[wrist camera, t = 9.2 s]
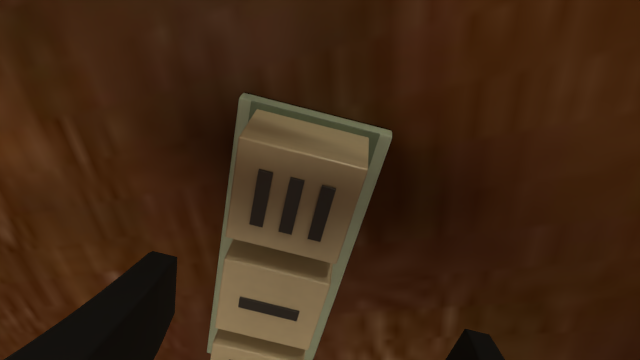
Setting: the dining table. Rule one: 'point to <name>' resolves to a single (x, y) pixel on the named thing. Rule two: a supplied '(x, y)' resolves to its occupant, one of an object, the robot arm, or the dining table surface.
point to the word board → (282, 265)
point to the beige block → (296, 185)
